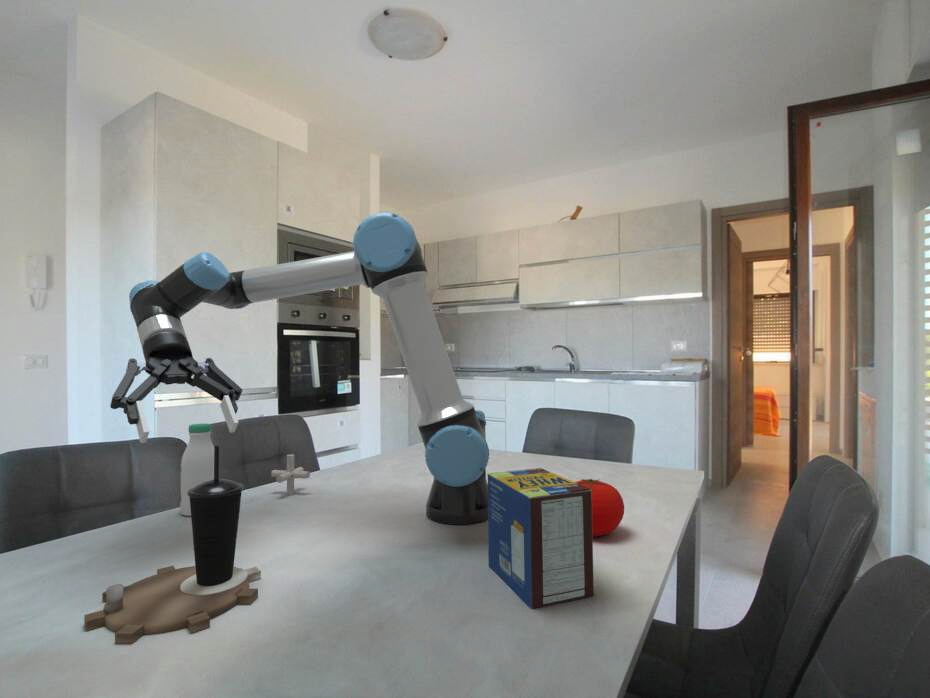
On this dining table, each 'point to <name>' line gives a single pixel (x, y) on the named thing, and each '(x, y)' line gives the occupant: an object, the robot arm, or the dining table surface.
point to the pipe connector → (290, 474)
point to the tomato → (604, 506)
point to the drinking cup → (215, 526)
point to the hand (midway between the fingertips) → (192, 432)
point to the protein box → (541, 535)
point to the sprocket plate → (169, 603)
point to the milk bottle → (196, 463)
